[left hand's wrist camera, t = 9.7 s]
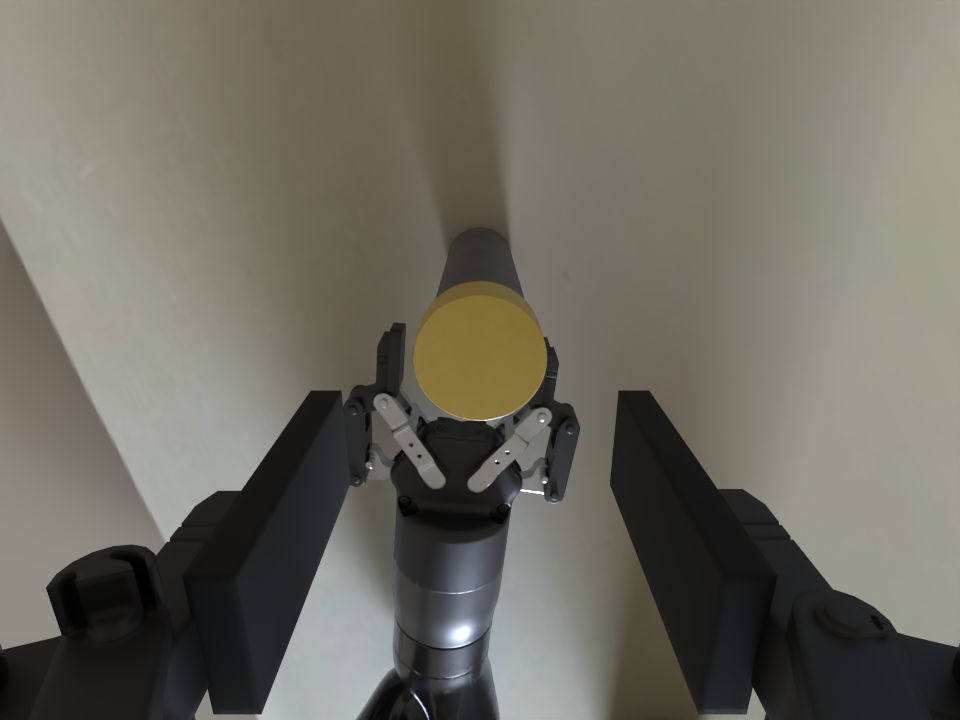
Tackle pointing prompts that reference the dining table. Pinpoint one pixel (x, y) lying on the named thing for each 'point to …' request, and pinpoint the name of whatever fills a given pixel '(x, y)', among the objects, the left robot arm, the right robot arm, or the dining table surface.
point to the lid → (479, 351)
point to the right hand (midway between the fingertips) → (470, 333)
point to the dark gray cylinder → (480, 261)
